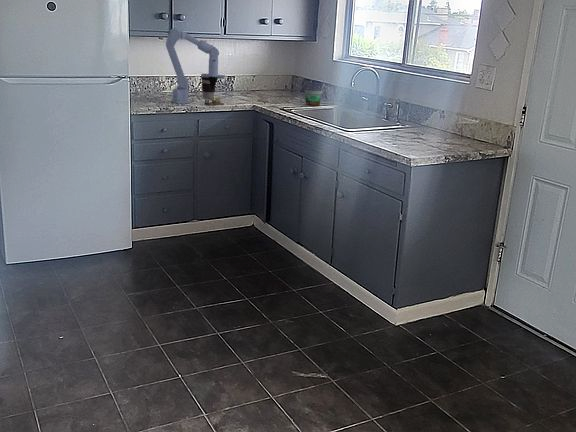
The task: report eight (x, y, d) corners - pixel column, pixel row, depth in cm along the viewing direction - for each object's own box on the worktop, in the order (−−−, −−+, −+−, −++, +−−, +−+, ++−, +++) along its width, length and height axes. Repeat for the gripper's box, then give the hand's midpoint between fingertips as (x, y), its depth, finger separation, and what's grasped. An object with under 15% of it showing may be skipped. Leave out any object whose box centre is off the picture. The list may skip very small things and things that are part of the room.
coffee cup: (205, 99, 417) (206, 75, 412) (197, 96, 424) (198, 73, 419) (218, 98, 423) (219, 75, 418) (210, 96, 430) (211, 73, 425)
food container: (306, 106, 419) (307, 90, 415) (303, 104, 424) (304, 89, 421) (324, 106, 422) (325, 91, 419) (321, 105, 427) (322, 90, 424)
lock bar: (213, 102, 399) (213, 98, 398) (211, 101, 401) (211, 97, 400) (220, 101, 403) (220, 97, 402) (218, 101, 404) (218, 97, 403)
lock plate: (209, 105, 395) (209, 100, 394) (204, 104, 399) (204, 98, 398) (223, 104, 402) (224, 99, 401) (218, 103, 406) (219, 97, 405)
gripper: (200, 67, 393) (199, 89, 398) (223, 68, 393) (223, 91, 397) (202, 65, 400) (202, 88, 405) (225, 67, 399) (225, 89, 404)
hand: (212, 89), depth 401 cm, fingers closed
